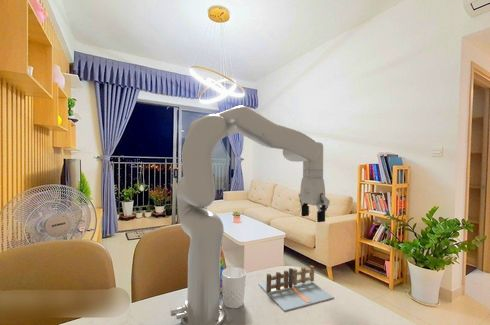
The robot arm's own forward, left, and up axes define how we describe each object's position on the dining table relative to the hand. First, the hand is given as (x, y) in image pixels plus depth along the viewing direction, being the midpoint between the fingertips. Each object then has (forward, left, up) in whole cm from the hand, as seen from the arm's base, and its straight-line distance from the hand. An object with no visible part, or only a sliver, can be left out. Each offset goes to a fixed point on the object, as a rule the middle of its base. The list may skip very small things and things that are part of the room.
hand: (312, 218), depth 95 cm
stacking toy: (-36, +9, -25) cm, 45 cm away
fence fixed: (-14, 0, -25) cm, 29 cm away
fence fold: (-4, 0, -24) cm, 24 cm away
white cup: (-33, -1, -25) cm, 41 cm away
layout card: (-10, -3, -25) cm, 27 cm away
